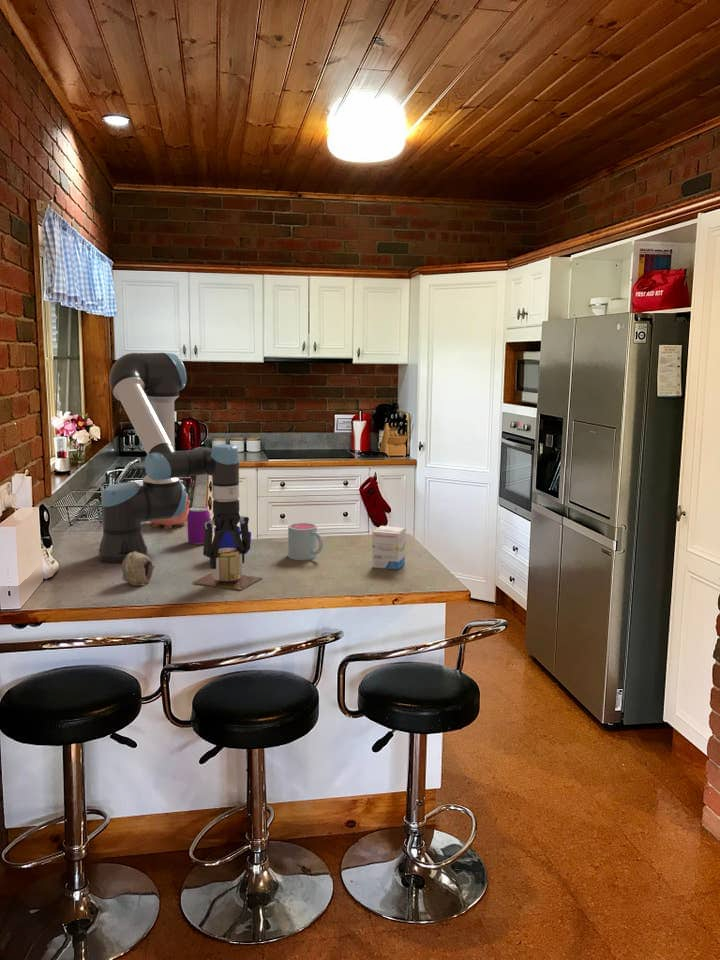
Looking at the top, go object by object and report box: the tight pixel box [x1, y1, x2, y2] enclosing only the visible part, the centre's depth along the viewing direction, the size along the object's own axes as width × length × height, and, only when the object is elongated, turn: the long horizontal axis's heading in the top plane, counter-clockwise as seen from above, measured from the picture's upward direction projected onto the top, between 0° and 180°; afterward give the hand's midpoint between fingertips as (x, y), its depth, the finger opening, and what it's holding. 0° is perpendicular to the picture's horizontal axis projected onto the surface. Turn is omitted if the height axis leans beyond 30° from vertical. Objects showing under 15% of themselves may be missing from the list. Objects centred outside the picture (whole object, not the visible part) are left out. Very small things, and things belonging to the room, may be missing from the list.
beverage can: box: [186, 506, 211, 546], centre depth 264 cm, size 8×8×12 cm
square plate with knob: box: [192, 571, 263, 592], centre depth 222 cm, size 16×12×6 cm
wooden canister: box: [217, 548, 240, 581], centre depth 222 cm, size 7×9×8 cm
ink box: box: [371, 525, 406, 571], centre depth 240 cm, size 9×8×12 cm
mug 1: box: [213, 525, 252, 555], centre depth 245 cm, size 8×12×10 cm
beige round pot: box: [121, 551, 155, 586], centre depth 220 cm, size 9×8×10 cm
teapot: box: [149, 493, 192, 530], centre depth 287 cm, size 16×17×14 cm
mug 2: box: [287, 522, 324, 561], centre depth 247 cm, size 14×9×10 cm
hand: (227, 576), depth 223 cm, fingers closed on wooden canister, 7 cm apart
